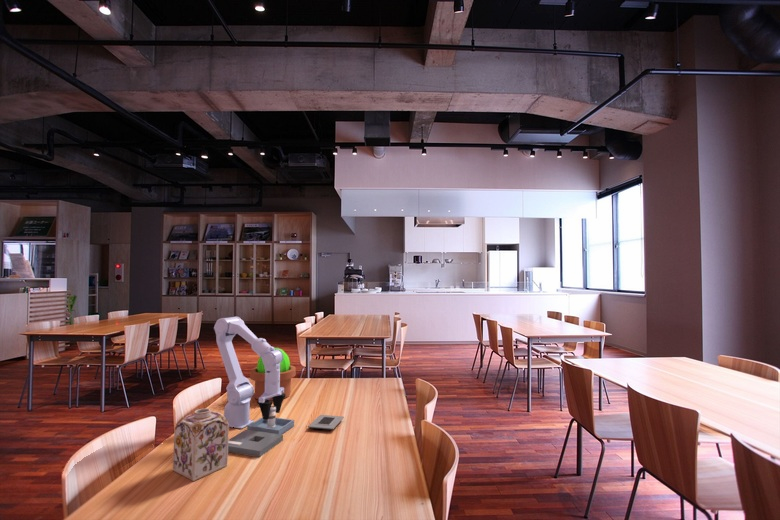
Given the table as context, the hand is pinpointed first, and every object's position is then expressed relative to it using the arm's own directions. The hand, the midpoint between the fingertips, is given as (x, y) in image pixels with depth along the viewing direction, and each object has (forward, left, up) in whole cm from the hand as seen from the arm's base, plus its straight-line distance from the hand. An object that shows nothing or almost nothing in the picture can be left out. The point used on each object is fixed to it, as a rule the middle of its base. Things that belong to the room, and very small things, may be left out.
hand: (271, 415), depth 150 cm
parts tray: (0, 0, -5) cm, 5 cm away
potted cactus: (-24, +37, -6) cm, 45 cm away
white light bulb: (0, 0, -5) cm, 5 cm away
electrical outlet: (+19, +10, -6) cm, 22 cm away
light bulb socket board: (+2, -15, -5) cm, 16 cm away
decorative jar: (-3, -34, -6) cm, 34 cm away
